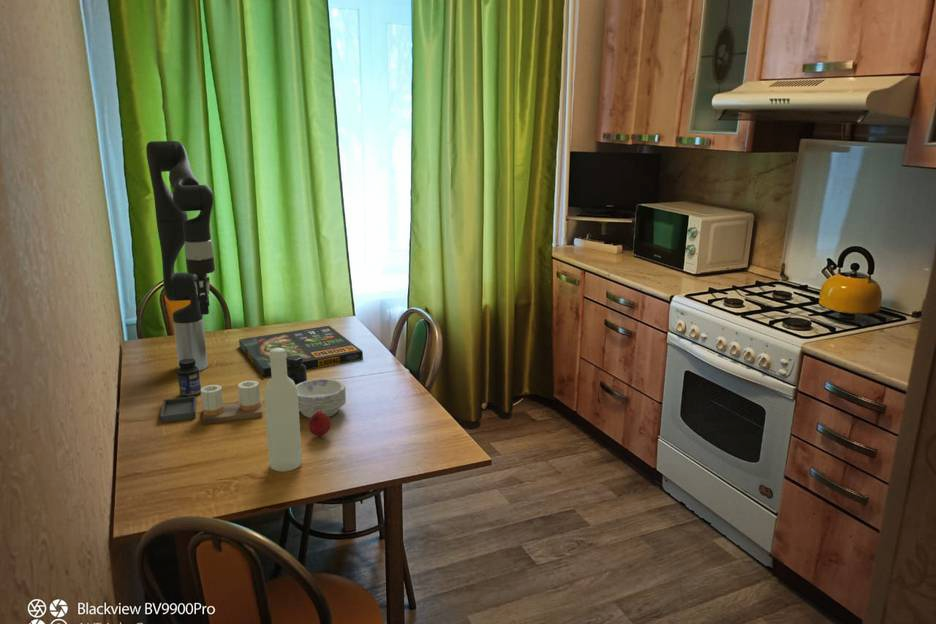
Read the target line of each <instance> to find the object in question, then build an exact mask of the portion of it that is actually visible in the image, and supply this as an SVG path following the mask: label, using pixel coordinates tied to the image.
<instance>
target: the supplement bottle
mask: <svg viewBox="0 0 936 624" xmlns="http://www.w3.org/2000/svg"><path fill="white" fill-rule="evenodd" d="M302 363H303V361H302V356H300V355H292V356H288V357H287V358H286V364H287V376H288V377H289V378H290V379H292V380H293V381H294V383H295V385H297V384H299V383H301V382H304V381H308V377H307V375H308V373H307V370H306V366H305V365H304V364H302Z"/></svg>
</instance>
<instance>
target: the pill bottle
mask: <svg viewBox="0 0 936 624" xmlns="http://www.w3.org/2000/svg"><path fill="white" fill-rule="evenodd" d="M195 364H196V362H195V359H192V358H188V359H183V360H180V361H179V365H178V369H177V372H176V373H177V380H178V381H177V382H178V389H179V394H180V396H181V398H183V397H192V396H196V397H198V396H200V395H201V388H202V387H201V377H200V371H199V369H198V367H196V366H195ZM179 366H180V368H179Z"/></svg>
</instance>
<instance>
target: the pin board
mask: <svg viewBox="0 0 936 624" xmlns="http://www.w3.org/2000/svg"><path fill="white" fill-rule="evenodd" d="M223 406H224V411H223V412H222V413H220V414H217V415H205V414H203V413H202V415H201V416H202V417H201V420H202V421H201V422H202V425H203V426H204V425H212V424H220V423H227V422H234V421H240V420H242V421H243V420H249V419H257V418H263V410H262V405H261V406H260V407H259V408H258V409H255V410H250V411H244V410H242V409H240V405H239V400H238V401H231V402H230V401H229V402H223Z"/></svg>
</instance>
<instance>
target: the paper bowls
mask: <svg viewBox="0 0 936 624" xmlns="http://www.w3.org/2000/svg"><path fill="white" fill-rule="evenodd" d="M296 387H297V393H298V407H299V412H300V413H301V414H302V415H303V416H304V417H306V418H308V419H310V418H311V417H312V416H313V415H314V414H315V413H316V412H317V411H318V410H319V409H321V410H322V413H324V414H326V415H327V416H328V417H329V418H330V417H332V416H334V415H335V414H336V413H337V412H338V410H339V409H340V408H342V407H343V406H344V405H345V404H346V402H347V401H346V399H347V397H346V396H347V395H346V394H347V393H346V385H345V384H344V383H343V382H342V381H340V380H337V379H333V378H318V379H317V378H316V379H309V380H308V379H307V381H304V382H301V383H299V384H297V385H296Z"/></svg>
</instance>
